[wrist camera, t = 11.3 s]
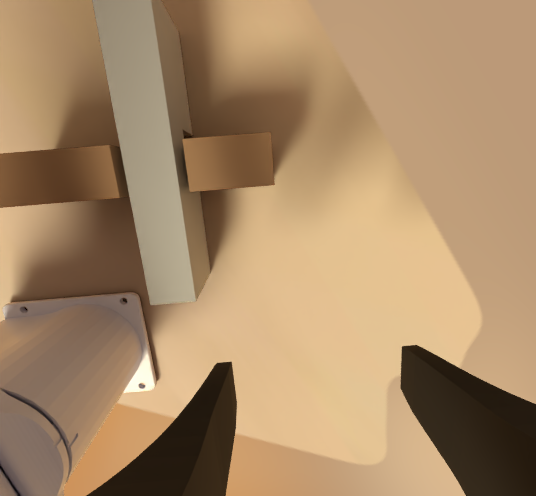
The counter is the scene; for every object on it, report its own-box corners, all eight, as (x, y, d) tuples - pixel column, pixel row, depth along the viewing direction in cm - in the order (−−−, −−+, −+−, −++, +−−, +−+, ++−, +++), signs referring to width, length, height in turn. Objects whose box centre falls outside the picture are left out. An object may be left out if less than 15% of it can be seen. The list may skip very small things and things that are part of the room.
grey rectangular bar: (210, 272, 21) (195, 301, 16) (175, 275, 21) (150, 305, 16) (178, 32, 17) (147, -26, 12) (136, 35, 17) (88, -22, 12)
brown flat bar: (60, 200, 19) (-7, 208, 14) (51, 161, 18) (-23, 155, 14) (270, 183, 19) (274, 184, 14) (267, 143, 19) (270, 132, 14)
